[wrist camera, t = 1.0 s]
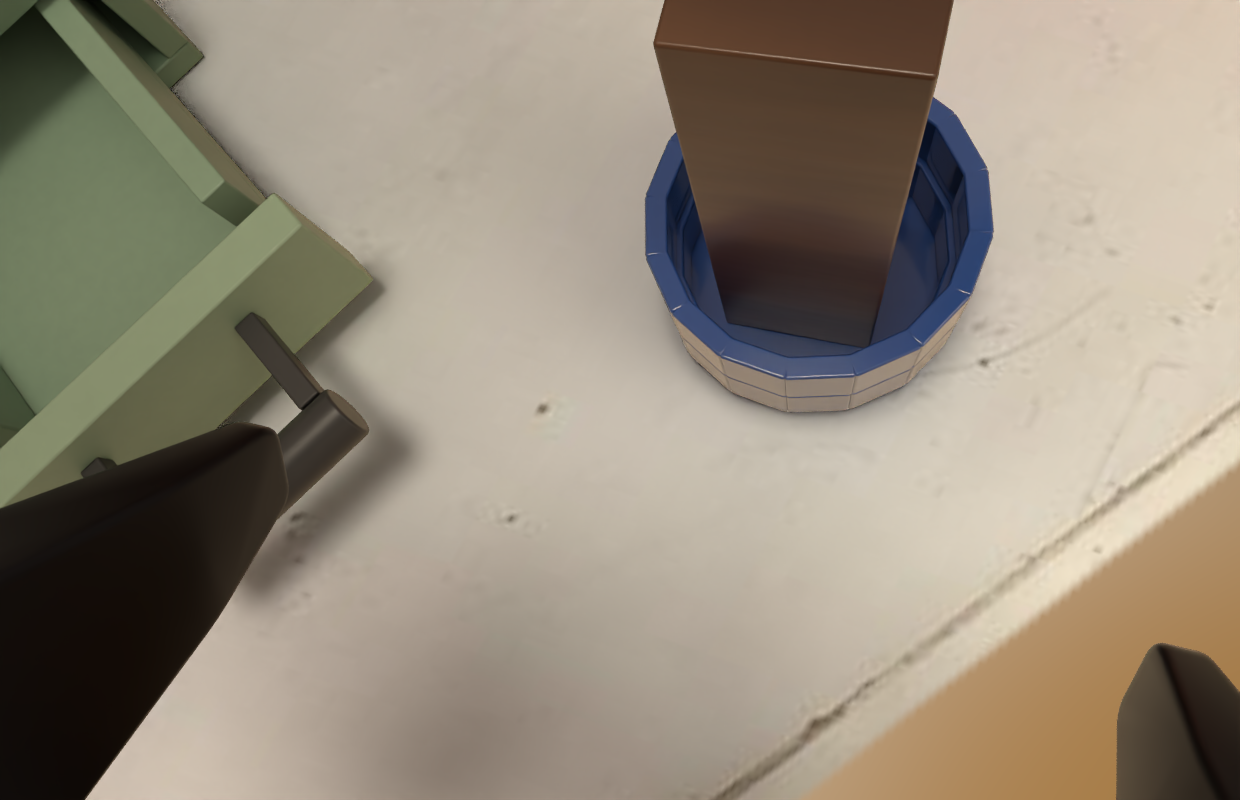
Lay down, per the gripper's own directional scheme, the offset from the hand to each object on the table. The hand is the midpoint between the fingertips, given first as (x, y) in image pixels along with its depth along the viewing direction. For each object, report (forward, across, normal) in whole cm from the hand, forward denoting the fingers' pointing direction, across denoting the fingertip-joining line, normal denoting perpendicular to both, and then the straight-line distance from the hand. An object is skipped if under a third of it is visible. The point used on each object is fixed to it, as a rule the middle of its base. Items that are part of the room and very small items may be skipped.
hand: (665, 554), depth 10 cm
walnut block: (+15, 0, +4) cm, 15 cm away
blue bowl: (+15, 0, +4) cm, 16 cm away
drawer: (+12, +20, +6) cm, 24 cm away
